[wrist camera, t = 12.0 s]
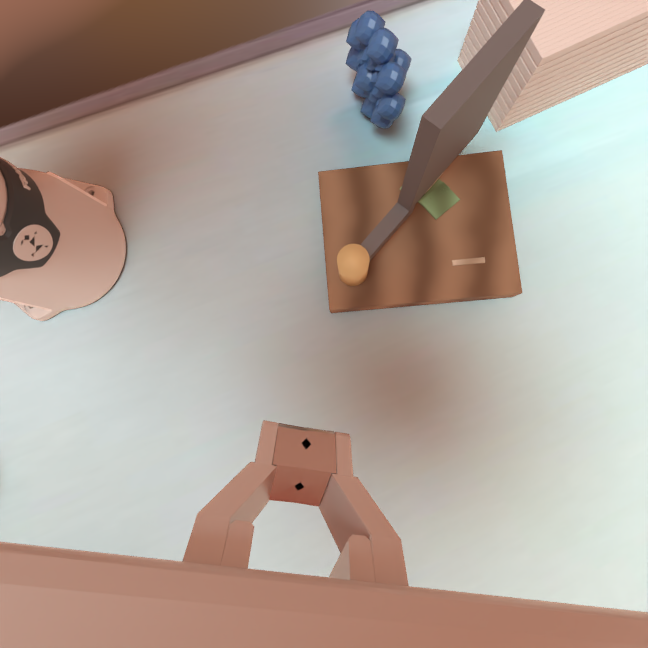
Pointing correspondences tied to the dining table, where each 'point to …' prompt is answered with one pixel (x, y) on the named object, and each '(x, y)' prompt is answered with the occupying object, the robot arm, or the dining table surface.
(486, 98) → the paddle
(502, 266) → the wooden cutting board
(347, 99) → the dining table surface
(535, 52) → the stack of papers
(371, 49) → the grapes
